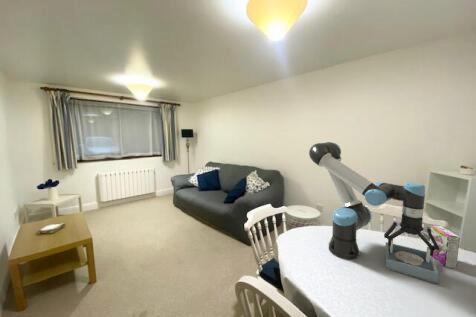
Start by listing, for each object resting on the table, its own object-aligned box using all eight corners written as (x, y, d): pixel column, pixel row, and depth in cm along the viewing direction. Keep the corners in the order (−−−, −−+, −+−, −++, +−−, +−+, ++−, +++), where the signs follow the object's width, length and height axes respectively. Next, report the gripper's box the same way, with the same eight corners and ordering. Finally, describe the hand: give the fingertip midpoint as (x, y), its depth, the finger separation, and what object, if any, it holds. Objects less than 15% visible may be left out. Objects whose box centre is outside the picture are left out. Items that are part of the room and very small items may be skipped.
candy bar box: (427, 253, 106) (430, 225, 104) (438, 254, 105) (441, 225, 103) (444, 267, 95) (448, 235, 93) (457, 268, 94) (460, 236, 92)
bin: (385, 268, 96) (386, 259, 95) (385, 250, 110) (385, 242, 110) (437, 284, 85) (438, 273, 85) (429, 261, 100) (430, 252, 99)
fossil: (417, 267, 91) (395, 249, 99) (410, 275, 94) (389, 257, 102) (428, 261, 94) (406, 243, 102) (421, 269, 97) (400, 251, 105)
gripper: (380, 212, 99) (377, 251, 102) (451, 224, 84) (446, 270, 87) (380, 207, 105) (377, 244, 108) (447, 218, 90) (442, 260, 93)
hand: (408, 256), depth 97 cm, fingers open, 13 cm apart
